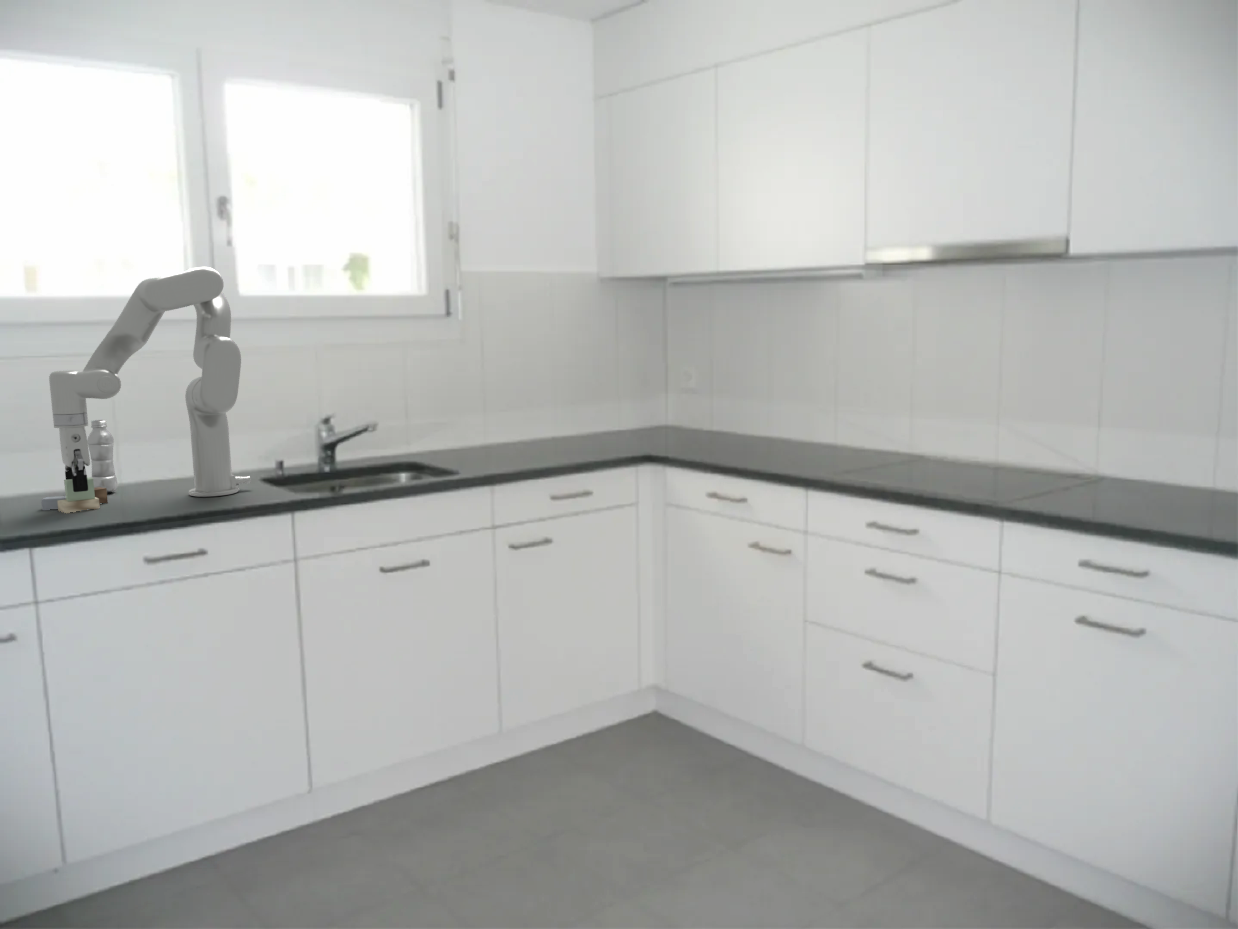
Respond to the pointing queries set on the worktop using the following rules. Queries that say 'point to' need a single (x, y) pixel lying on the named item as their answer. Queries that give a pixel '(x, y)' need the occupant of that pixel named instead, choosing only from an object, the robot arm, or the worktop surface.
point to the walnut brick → (101, 494)
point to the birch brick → (78, 505)
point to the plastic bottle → (102, 456)
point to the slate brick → (51, 502)
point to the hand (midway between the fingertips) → (77, 488)
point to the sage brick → (79, 495)
